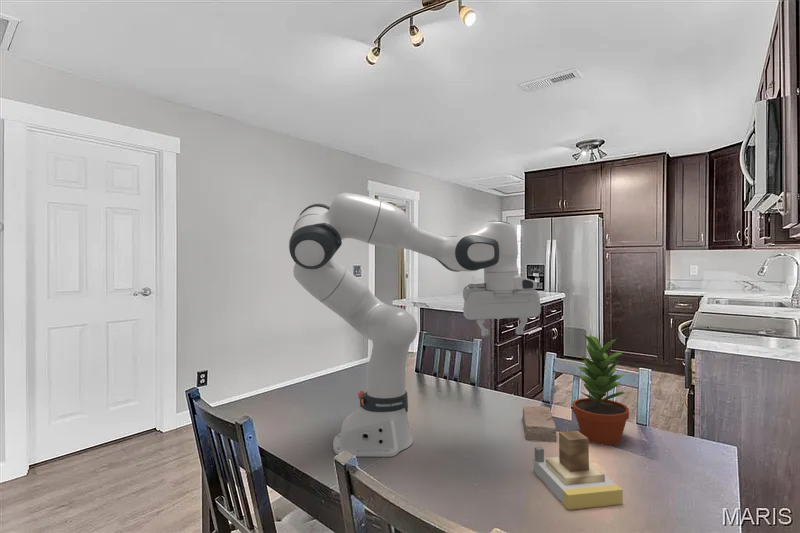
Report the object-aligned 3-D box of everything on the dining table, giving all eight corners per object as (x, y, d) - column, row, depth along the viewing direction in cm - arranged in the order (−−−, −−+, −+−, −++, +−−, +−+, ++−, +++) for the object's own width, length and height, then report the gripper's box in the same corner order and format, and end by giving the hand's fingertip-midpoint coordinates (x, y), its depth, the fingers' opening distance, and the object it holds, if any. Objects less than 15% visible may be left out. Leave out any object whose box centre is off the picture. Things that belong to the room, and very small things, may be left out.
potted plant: (644, 443, 116) (642, 333, 116) (598, 452, 112) (596, 338, 111) (603, 423, 130) (602, 325, 130) (561, 430, 126) (559, 329, 126)
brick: (557, 443, 118) (557, 426, 118) (525, 441, 120) (525, 424, 120) (550, 421, 135) (549, 406, 135) (522, 419, 136) (522, 405, 136)
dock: (568, 509, 87) (567, 480, 87) (533, 471, 103) (533, 446, 103) (622, 503, 89) (622, 475, 88) (580, 466, 104) (580, 442, 104)
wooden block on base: (565, 485, 91) (564, 445, 91) (545, 465, 100) (544, 428, 100) (604, 481, 92) (604, 442, 92) (581, 461, 101) (581, 425, 101)
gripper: (466, 284, 108) (467, 339, 108) (542, 282, 111) (544, 335, 111) (459, 283, 114) (460, 335, 115) (532, 280, 117) (533, 331, 117)
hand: (502, 335), depth 113 cm, fingers open, 8 cm apart
